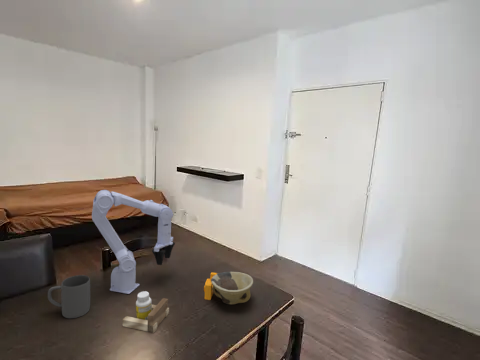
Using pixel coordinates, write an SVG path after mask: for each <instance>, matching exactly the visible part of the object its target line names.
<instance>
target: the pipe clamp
mask: <svg viewBox="0 0 480 360" xmlns="http://www.w3.org/2000/svg"><path fill="white" fill-rule="evenodd" d="M216 274H218V272H211V273H210V276H209V277H210V278H207V279H206V281H205V284H204V286H203V292H204V300H207V301H211V299H212V297H213V295H214V294H215V293H214V292H213V289H212V287H213V285H212V282H211V279H212V277H213V276H215V275H216Z"/></svg>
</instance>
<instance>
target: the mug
mask: <svg viewBox="0 0 480 360" xmlns="http://www.w3.org/2000/svg"><path fill="white" fill-rule="evenodd" d="M54 290H61V303H60V302H57V301H56V300H55V299H54V298H53V297H52V292H53V291H54ZM47 299H48V302H49V303H51V304H52V305H53V306H56V307H59V308H61V314H62V317H64V318H66V319H77V318H79V317H82V316H84V315H86V314H88V312H89V311H90V310H91V279H90V276H88V275H84V274H79V275H73V276H69V277H66V278H65V279H64V280H62V282H61V285H55V286H52V287H50V288H49V289H48V290H47Z"/></svg>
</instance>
